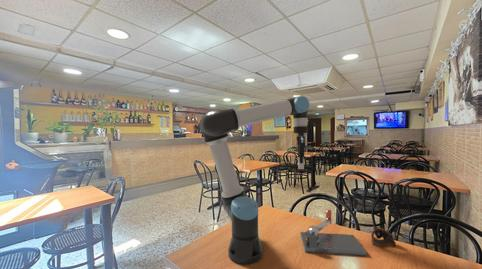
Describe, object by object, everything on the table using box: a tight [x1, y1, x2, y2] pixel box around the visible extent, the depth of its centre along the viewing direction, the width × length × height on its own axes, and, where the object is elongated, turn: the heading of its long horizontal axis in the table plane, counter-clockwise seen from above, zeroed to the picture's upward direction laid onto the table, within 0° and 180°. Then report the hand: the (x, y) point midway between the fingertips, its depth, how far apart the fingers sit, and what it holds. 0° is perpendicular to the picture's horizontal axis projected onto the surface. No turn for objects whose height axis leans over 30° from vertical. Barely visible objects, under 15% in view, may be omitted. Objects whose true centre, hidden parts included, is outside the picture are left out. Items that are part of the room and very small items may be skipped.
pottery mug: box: [370, 226, 397, 247], centre depth 97 cm, size 12×10×8 cm
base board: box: [300, 231, 367, 257], centre depth 96 cm, size 25×14×7 cm, turn 82°
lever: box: [304, 209, 332, 241], centre depth 101 cm, size 22×4×9 cm, turn 133°
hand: (301, 168), depth 114 cm, fingers closed
